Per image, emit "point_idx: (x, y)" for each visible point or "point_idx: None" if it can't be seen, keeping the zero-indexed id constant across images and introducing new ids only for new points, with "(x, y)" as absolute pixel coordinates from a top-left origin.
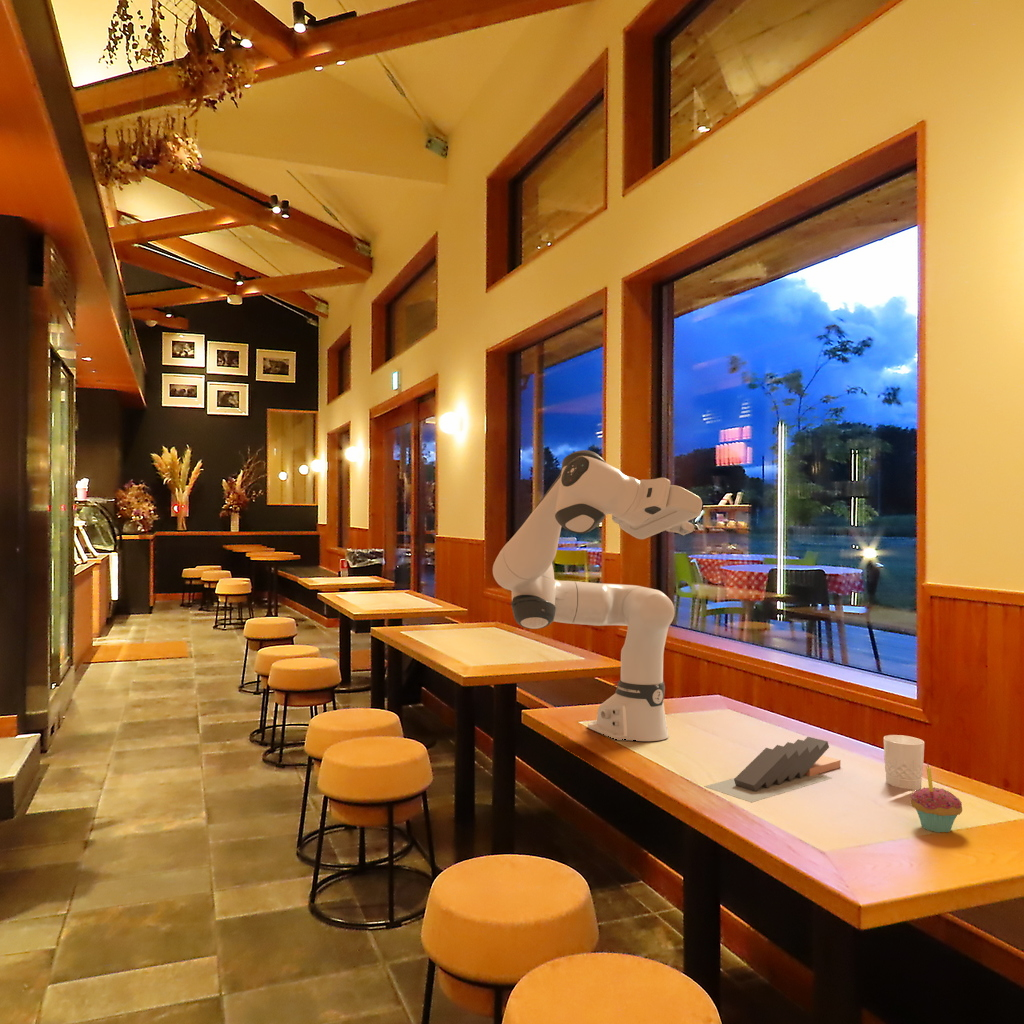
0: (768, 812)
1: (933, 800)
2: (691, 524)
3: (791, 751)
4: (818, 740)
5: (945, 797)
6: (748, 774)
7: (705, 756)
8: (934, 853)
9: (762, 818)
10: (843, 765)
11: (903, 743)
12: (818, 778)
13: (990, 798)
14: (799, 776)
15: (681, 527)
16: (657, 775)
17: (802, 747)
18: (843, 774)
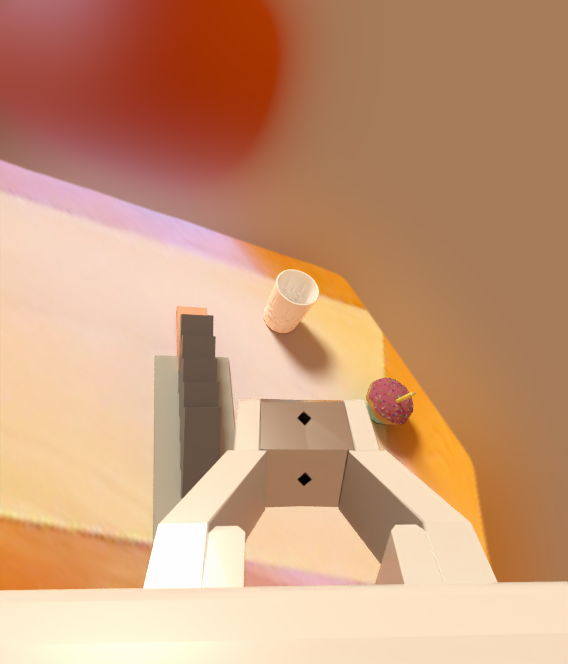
0: (273, 538)
1: (405, 414)
2: (367, 420)
3: (213, 388)
4: (200, 317)
5: (409, 403)
6: (197, 478)
7: (32, 405)
8: (424, 477)
9: (286, 566)
10: (194, 297)
11: (283, 278)
12: (221, 373)
13: (337, 294)
14: None
15: (286, 478)
16: (44, 570)
17: (210, 362)
18: (217, 328)
